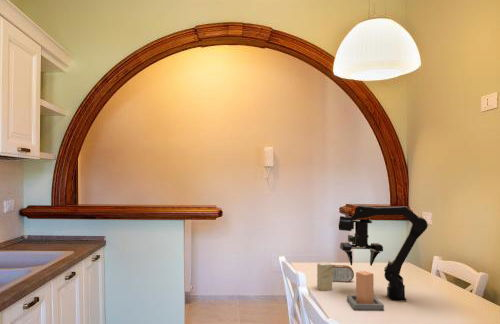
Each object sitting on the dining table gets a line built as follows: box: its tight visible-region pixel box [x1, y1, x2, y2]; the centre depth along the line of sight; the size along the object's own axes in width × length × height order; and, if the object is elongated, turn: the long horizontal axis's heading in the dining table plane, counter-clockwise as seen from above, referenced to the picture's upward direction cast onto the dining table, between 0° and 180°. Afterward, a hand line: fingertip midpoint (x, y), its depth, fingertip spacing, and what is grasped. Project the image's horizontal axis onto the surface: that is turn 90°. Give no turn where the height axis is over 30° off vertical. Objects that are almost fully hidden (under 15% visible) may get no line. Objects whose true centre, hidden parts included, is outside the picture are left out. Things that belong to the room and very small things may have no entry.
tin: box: [332, 264, 355, 283], centre depth 184 cm, size 15×3×8 cm, turn 84°
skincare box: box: [316, 262, 333, 291], centre depth 171 cm, size 6×4×12 cm
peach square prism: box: [355, 270, 375, 304], centre depth 150 cm, size 5×5×13 cm
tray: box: [346, 294, 385, 312], centre depth 150 cm, size 12×12×2 cm
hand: (361, 265), depth 165 cm, fingers open, 9 cm apart
